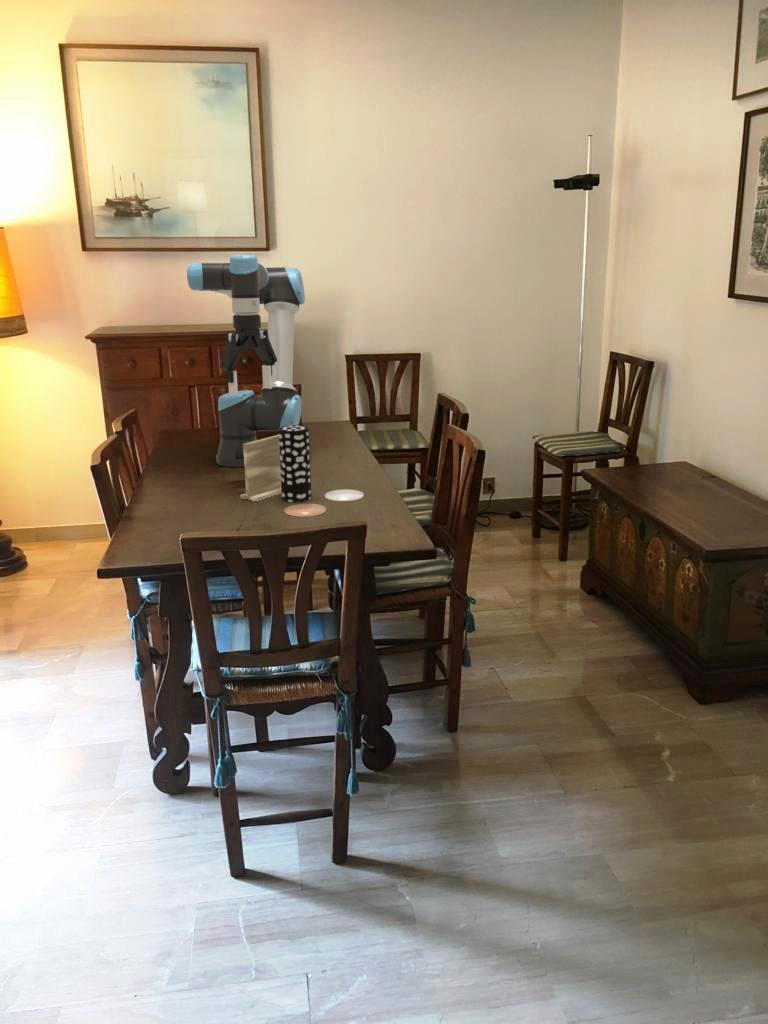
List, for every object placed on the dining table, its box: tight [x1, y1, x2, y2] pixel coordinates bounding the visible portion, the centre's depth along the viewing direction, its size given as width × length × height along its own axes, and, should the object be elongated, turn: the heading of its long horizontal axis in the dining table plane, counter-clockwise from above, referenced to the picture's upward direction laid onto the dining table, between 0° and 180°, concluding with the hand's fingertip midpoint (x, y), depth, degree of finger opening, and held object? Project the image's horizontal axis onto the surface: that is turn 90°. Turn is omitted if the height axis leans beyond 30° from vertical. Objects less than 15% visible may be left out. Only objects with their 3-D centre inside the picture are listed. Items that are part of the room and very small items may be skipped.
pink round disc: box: [284, 503, 327, 518], centre depth 218 cm, size 11×11×1 cm
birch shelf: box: [240, 434, 282, 502], centre depth 232 cm, size 6×18×16 cm, turn 145°
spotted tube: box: [278, 424, 312, 503], centre depth 226 cm, size 8×8×20 cm
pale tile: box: [324, 488, 365, 503], centre depth 231 cm, size 11×11×1 cm
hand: (250, 391), depth 229 cm, fingers open, 13 cm apart
